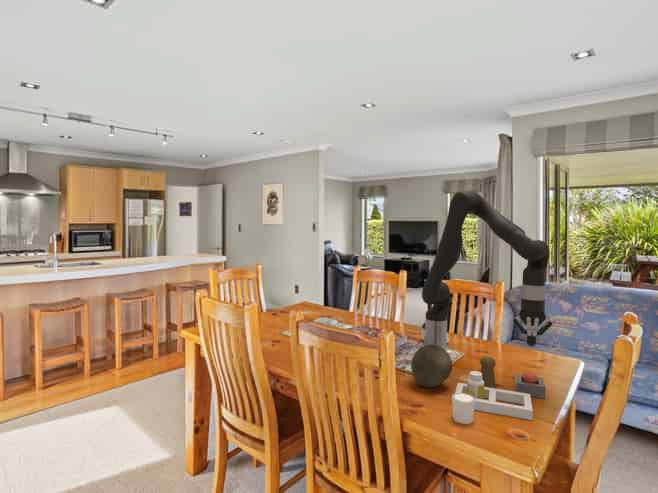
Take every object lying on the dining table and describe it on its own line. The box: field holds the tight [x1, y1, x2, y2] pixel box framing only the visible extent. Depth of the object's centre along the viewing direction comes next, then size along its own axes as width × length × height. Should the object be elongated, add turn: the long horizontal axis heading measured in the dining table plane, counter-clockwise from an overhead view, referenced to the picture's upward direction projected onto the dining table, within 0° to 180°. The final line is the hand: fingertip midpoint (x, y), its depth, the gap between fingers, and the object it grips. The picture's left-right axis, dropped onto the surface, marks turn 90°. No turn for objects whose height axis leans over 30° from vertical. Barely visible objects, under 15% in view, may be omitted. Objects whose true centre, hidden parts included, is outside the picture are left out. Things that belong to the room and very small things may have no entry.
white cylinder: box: [451, 393, 476, 425], centre depth 122 cm, size 7×7×7 cm
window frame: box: [454, 382, 534, 421], centre depth 132 cm, size 23×12×3 cm, turn 67°
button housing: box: [514, 373, 547, 400], centre depth 142 cm, size 9×9×4 cm
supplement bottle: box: [466, 370, 485, 400], centre depth 134 cm, size 5×5×10 cm
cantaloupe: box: [410, 344, 453, 388], centre depth 146 cm, size 14×14×15 cm
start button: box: [522, 371, 538, 384], centre depth 141 cm, size 4×4×3 cm
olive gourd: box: [479, 355, 497, 389], centre depth 145 cm, size 6×6×11 cm
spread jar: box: [420, 318, 450, 344], centre depth 196 cm, size 12×11×12 cm
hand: (531, 345), depth 140 cm, fingers closed
